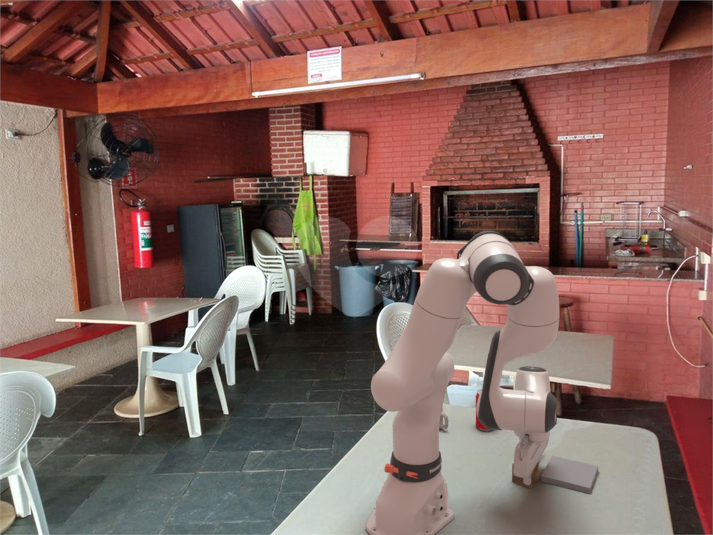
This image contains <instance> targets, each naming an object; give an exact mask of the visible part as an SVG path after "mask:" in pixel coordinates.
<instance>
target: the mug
mask: <svg viewBox="0 0 713 535" xmlns="http://www.w3.org/2000/svg"><path fill="white" fill-rule="evenodd" d="M448 428H449V417H448V415H447V414H446V413H445V412H444V408H443V407H442V411H441V416H440V423H439V430H442V429H445V430H447V429H448Z"/></svg>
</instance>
